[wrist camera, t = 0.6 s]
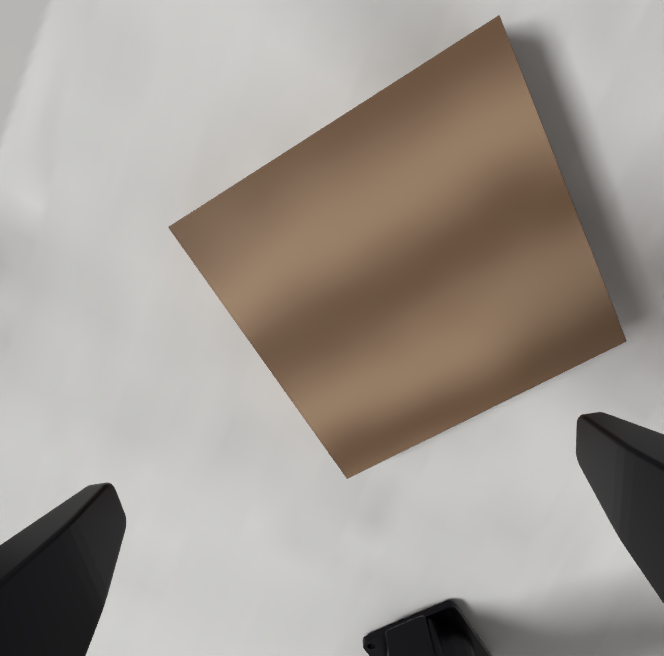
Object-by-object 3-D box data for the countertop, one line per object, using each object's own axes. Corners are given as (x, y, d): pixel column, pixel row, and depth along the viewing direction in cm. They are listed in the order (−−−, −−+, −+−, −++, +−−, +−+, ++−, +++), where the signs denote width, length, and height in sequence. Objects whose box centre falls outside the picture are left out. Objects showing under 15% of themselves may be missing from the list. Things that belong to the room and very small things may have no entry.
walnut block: (590, 317, 23) (626, 341, 21) (344, 442, 26) (347, 478, 23) (472, 34, 19) (498, 15, 16) (188, 216, 21) (168, 227, 18)
